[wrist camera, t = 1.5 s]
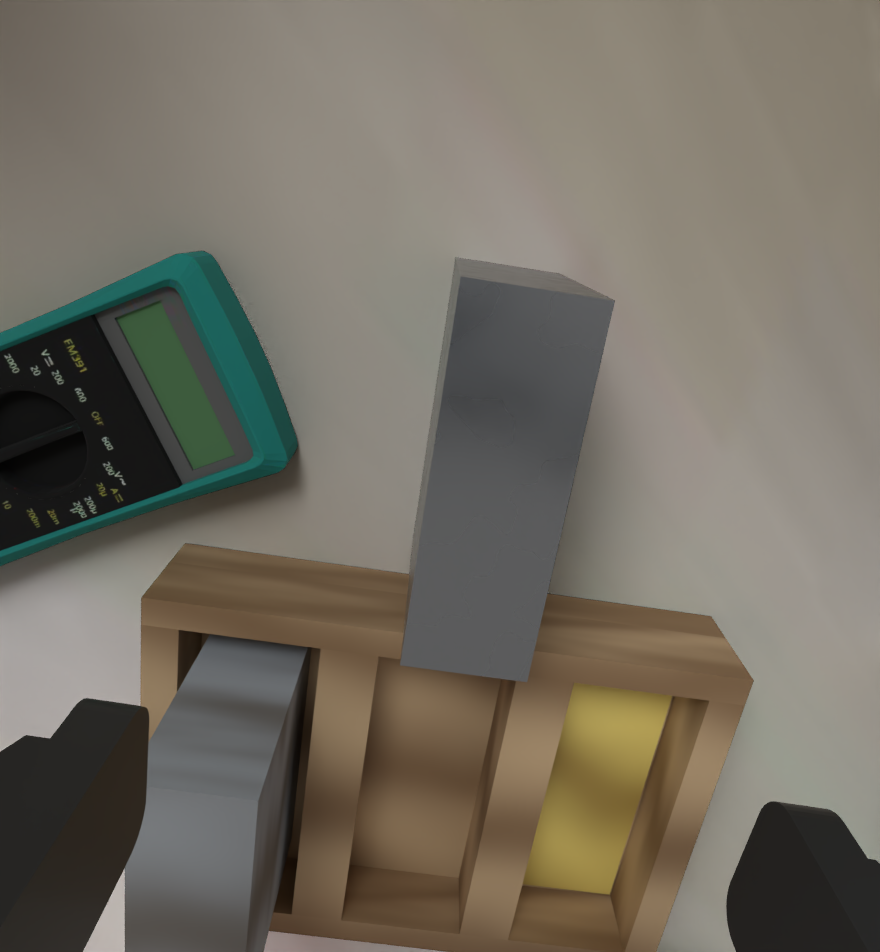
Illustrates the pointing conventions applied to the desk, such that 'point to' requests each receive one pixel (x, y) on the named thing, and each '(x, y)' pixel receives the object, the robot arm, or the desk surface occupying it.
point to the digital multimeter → (133, 405)
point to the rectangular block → (499, 465)
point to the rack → (414, 768)
